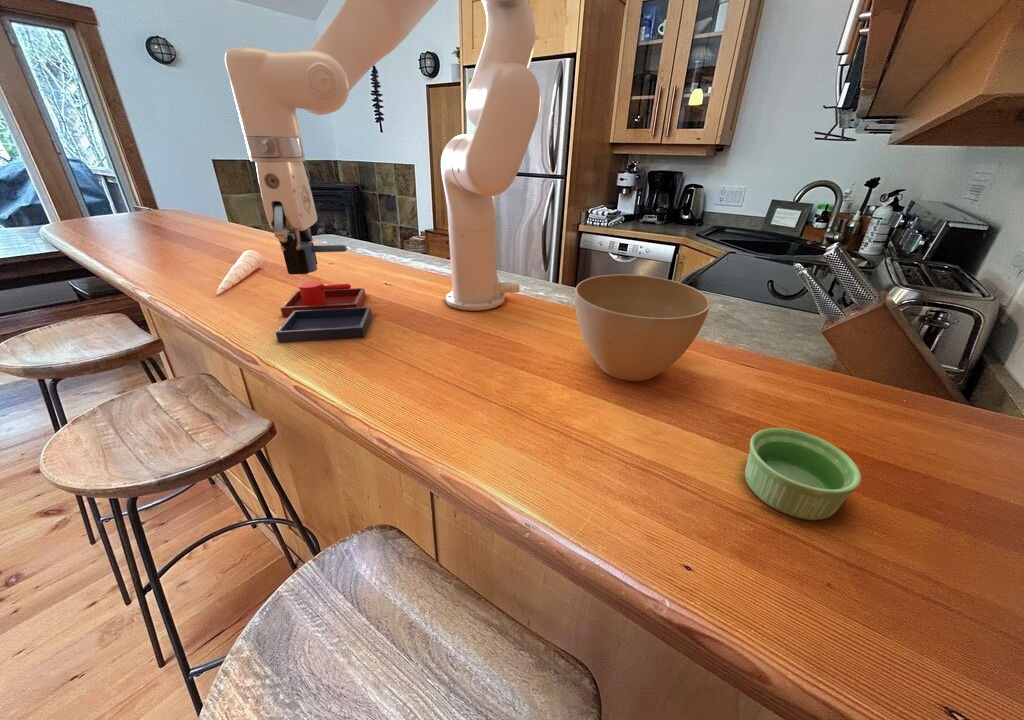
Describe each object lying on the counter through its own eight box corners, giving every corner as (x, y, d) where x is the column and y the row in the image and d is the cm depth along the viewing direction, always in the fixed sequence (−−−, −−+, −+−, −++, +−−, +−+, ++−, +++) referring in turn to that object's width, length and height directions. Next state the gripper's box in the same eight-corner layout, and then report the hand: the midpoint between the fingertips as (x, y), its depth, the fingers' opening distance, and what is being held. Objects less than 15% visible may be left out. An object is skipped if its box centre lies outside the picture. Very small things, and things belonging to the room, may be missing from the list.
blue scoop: (352, 265, 74) (348, 240, 72) (347, 272, 70) (343, 246, 68) (293, 267, 72) (287, 241, 70) (285, 274, 69) (279, 247, 67)
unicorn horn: (199, 297, 90) (191, 275, 88) (247, 267, 111) (241, 249, 109) (222, 296, 91) (214, 275, 88) (265, 267, 112) (260, 249, 109)
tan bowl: (601, 410, 53) (613, 324, 48) (552, 349, 69) (557, 278, 63) (718, 390, 58) (742, 309, 52) (648, 337, 73) (660, 270, 67)
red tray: (365, 296, 91) (364, 287, 90) (357, 313, 83) (356, 304, 82) (298, 299, 89) (296, 290, 89) (282, 317, 81) (280, 307, 80)
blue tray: (372, 315, 81) (370, 306, 80) (363, 337, 72) (362, 327, 72) (296, 319, 79) (293, 310, 78) (278, 342, 71) (275, 332, 70)
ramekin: (819, 543, 36) (838, 508, 34) (721, 482, 42) (732, 449, 40) (857, 497, 41) (876, 463, 38) (764, 448, 47) (776, 417, 45)
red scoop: (355, 299, 88) (352, 279, 86) (352, 306, 85) (348, 285, 83) (307, 301, 87) (302, 281, 85) (301, 309, 83) (295, 288, 81)
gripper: (284, 152, 55) (313, 283, 64) (317, 149, 70) (337, 256, 79) (223, 151, 54) (261, 285, 63) (270, 149, 69) (295, 257, 78)
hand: (303, 268), depth 71 cm, fingers closed on blue scoop, 4 cm apart
